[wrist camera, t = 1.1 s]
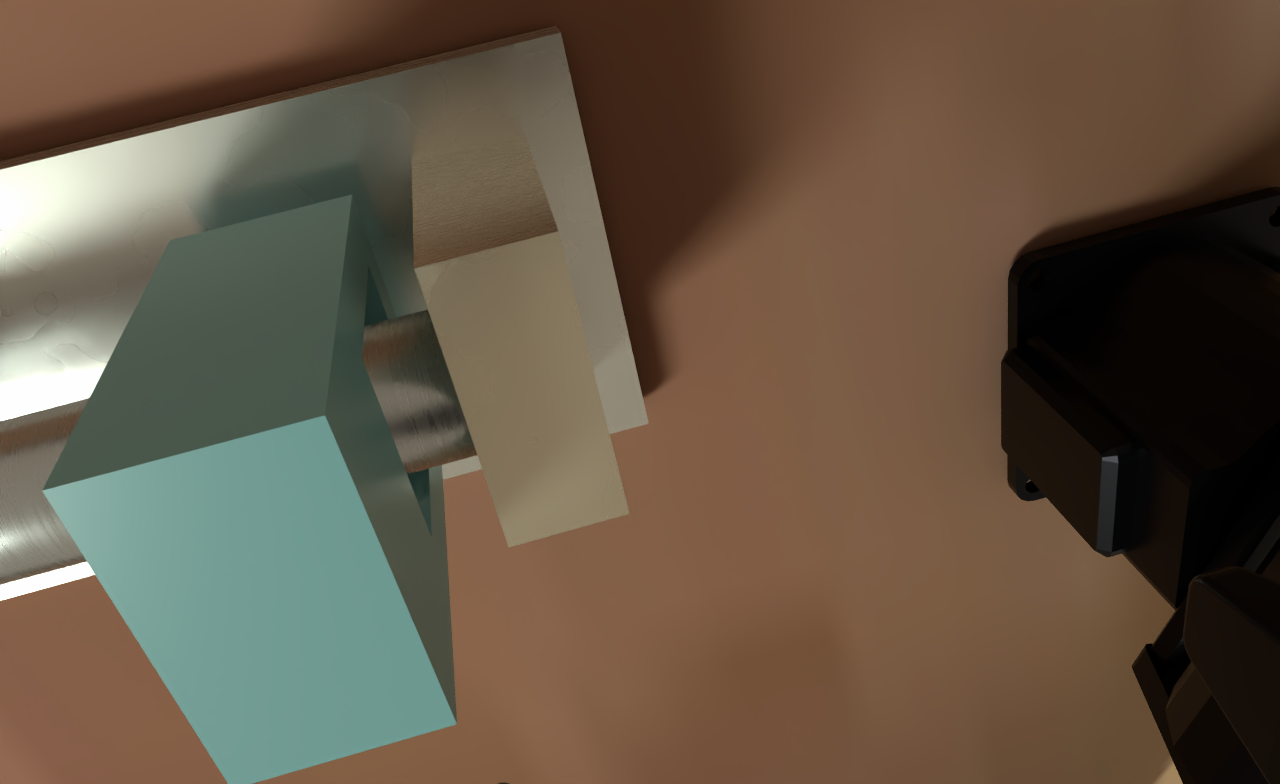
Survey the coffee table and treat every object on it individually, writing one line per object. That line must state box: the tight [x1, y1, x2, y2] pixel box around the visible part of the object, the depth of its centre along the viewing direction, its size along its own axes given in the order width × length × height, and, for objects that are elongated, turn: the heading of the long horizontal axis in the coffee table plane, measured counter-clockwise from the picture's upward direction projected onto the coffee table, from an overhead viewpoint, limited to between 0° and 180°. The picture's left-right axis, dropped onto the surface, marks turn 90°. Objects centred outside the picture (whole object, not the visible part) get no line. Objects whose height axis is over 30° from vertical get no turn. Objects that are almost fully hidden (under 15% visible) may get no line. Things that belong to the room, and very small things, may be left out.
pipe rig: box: [0, 26, 649, 600], centre depth 17 cm, size 21×8×5 cm, turn 101°
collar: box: [42, 195, 457, 784], centre depth 15 cm, size 3×5×7 cm, turn 11°
